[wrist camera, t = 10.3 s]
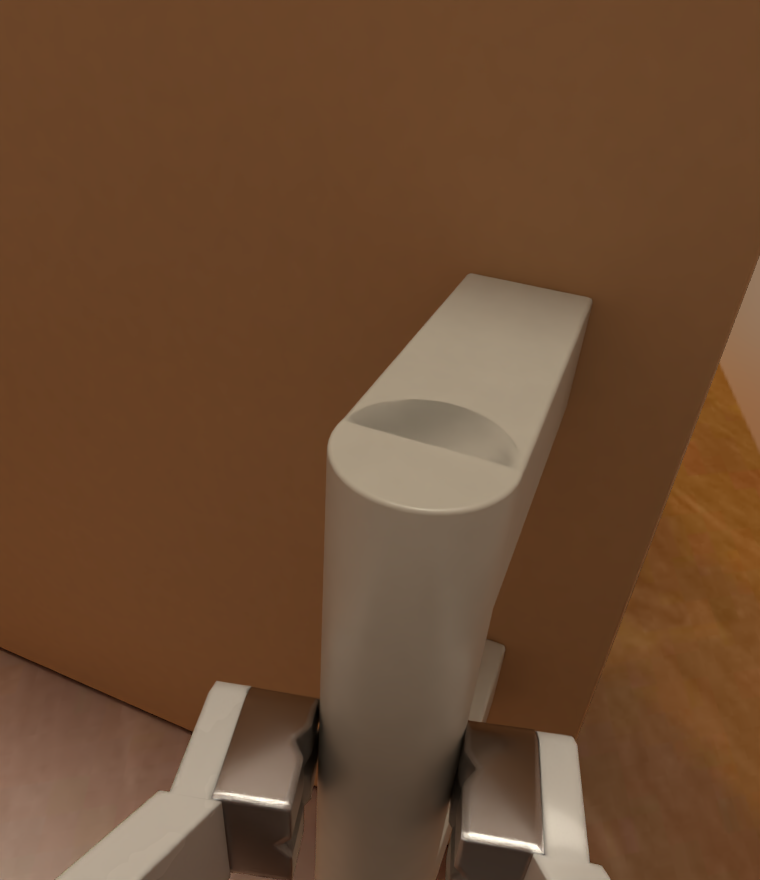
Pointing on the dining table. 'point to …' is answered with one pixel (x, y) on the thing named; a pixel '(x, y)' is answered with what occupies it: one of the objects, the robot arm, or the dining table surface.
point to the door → (359, 356)
